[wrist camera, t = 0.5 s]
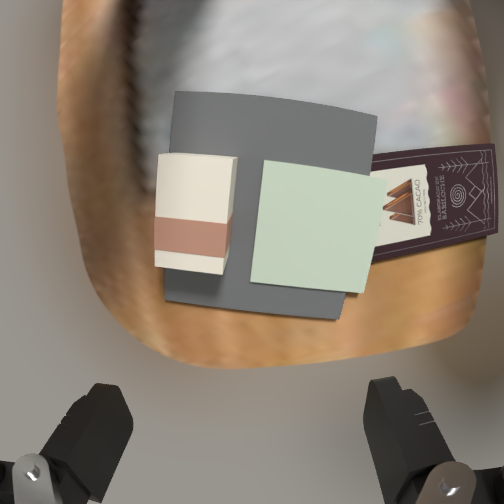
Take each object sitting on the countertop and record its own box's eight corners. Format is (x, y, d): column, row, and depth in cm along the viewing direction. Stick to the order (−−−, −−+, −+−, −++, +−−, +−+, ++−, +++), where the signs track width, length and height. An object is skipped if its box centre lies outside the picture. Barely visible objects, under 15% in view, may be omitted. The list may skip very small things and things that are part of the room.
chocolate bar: (497, 232, 24) (339, 268, 26) (492, 230, 25) (336, 264, 27) (494, 143, 21) (323, 162, 23) (488, 143, 22) (321, 161, 24)
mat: (177, 92, 22) (174, 90, 21) (391, 121, 22) (395, 120, 21) (166, 296, 28) (163, 301, 27) (352, 317, 28) (355, 322, 27)
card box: (174, 152, 23) (157, 154, 19) (238, 157, 23) (233, 159, 19) (169, 248, 26) (154, 266, 22) (229, 255, 26) (223, 275, 22)
